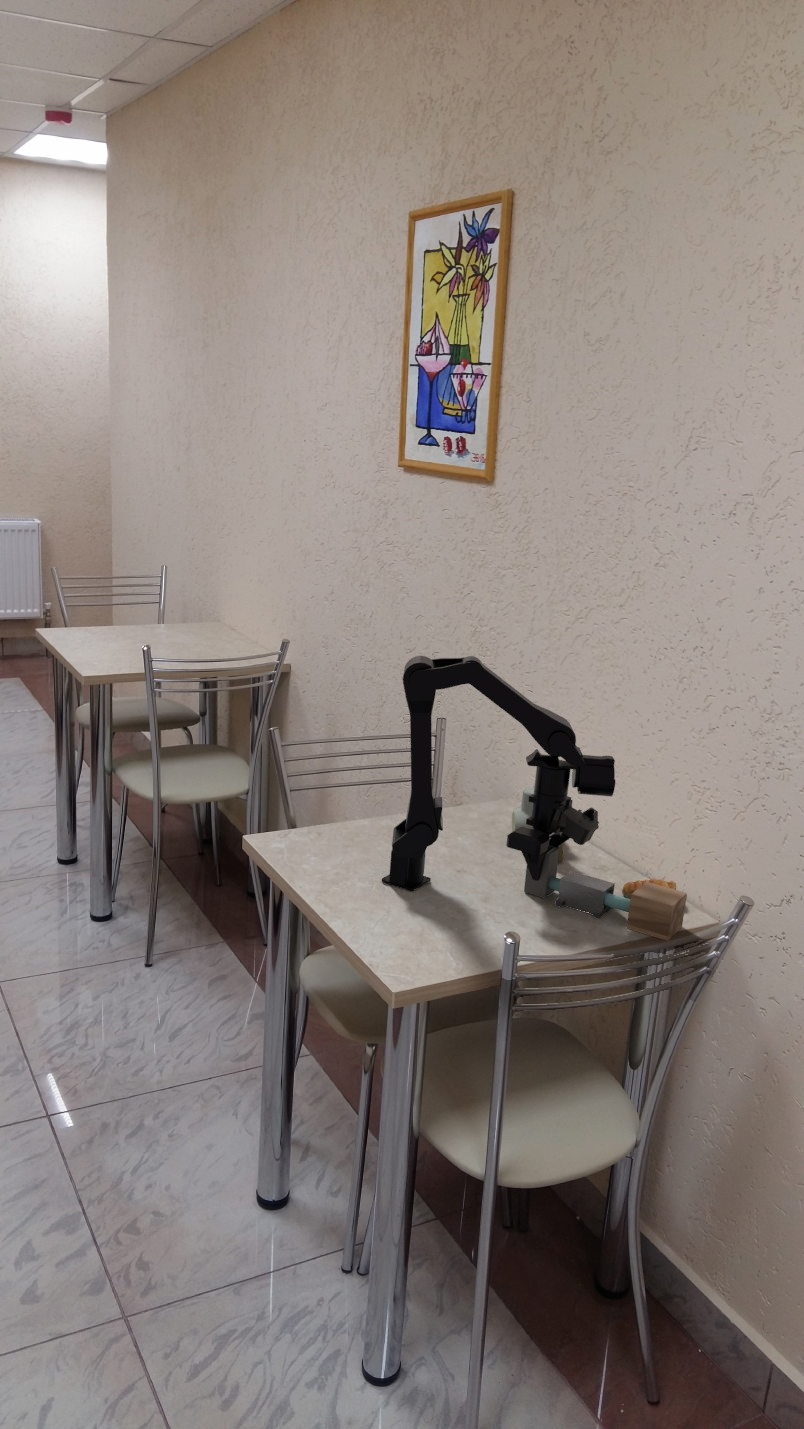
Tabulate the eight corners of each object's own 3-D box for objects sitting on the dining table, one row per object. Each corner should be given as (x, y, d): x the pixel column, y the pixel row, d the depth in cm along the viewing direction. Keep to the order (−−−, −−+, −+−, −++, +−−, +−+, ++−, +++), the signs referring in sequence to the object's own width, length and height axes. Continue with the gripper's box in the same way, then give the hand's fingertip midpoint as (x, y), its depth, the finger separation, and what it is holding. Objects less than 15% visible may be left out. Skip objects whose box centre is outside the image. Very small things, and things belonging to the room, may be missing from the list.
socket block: (667, 940, 177) (672, 906, 176) (626, 928, 181) (631, 894, 180) (682, 926, 183) (687, 893, 182) (641, 914, 187) (646, 881, 185)
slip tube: (653, 931, 180) (659, 885, 178) (523, 891, 192) (528, 848, 190) (661, 923, 184) (667, 878, 182) (534, 884, 195) (538, 842, 194)
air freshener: (556, 850, 214) (562, 801, 212) (514, 847, 214) (519, 798, 211) (550, 830, 225) (555, 783, 222) (509, 827, 225) (514, 780, 222)
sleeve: (598, 918, 184) (602, 893, 183) (555, 905, 188) (558, 880, 187) (613, 906, 189) (616, 881, 188) (570, 894, 193) (573, 869, 192)
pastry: (622, 903, 191) (624, 883, 191) (620, 889, 198) (623, 869, 197) (677, 910, 190) (680, 890, 189) (674, 895, 197) (676, 875, 196)
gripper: (572, 815, 176) (561, 906, 180) (615, 789, 192) (604, 873, 196) (509, 799, 182) (500, 887, 186) (557, 775, 198) (547, 857, 201)
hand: (541, 876), depth 192 cm, fingers closed on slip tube, 4 cm apart
